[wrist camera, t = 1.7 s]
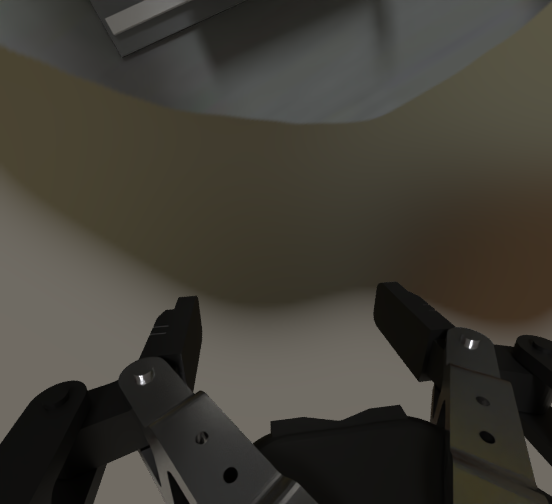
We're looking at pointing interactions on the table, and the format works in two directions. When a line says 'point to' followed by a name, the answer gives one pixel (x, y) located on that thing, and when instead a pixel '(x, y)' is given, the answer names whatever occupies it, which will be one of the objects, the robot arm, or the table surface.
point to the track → (152, 19)
